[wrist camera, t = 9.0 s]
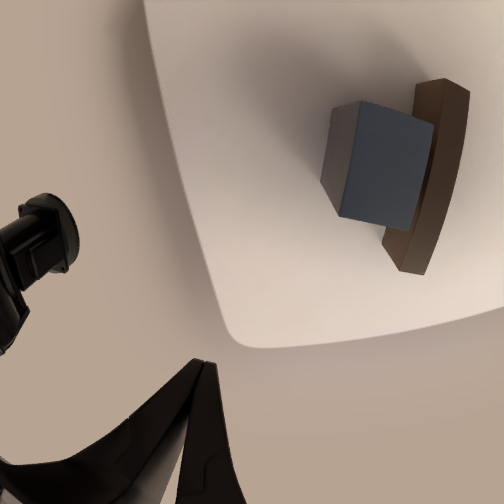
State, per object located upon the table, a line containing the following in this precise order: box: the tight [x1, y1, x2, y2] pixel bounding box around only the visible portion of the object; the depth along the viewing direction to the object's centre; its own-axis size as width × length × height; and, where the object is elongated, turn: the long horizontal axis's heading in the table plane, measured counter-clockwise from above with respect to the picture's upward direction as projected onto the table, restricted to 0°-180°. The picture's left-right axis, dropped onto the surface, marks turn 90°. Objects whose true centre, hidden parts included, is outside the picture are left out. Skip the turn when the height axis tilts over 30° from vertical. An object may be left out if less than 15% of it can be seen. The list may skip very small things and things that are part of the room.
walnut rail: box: [382, 78, 470, 275], centre depth 14 cm, size 2×12×4 cm, turn 173°
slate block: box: [320, 101, 434, 231], centre depth 13 cm, size 7×5×8 cm
